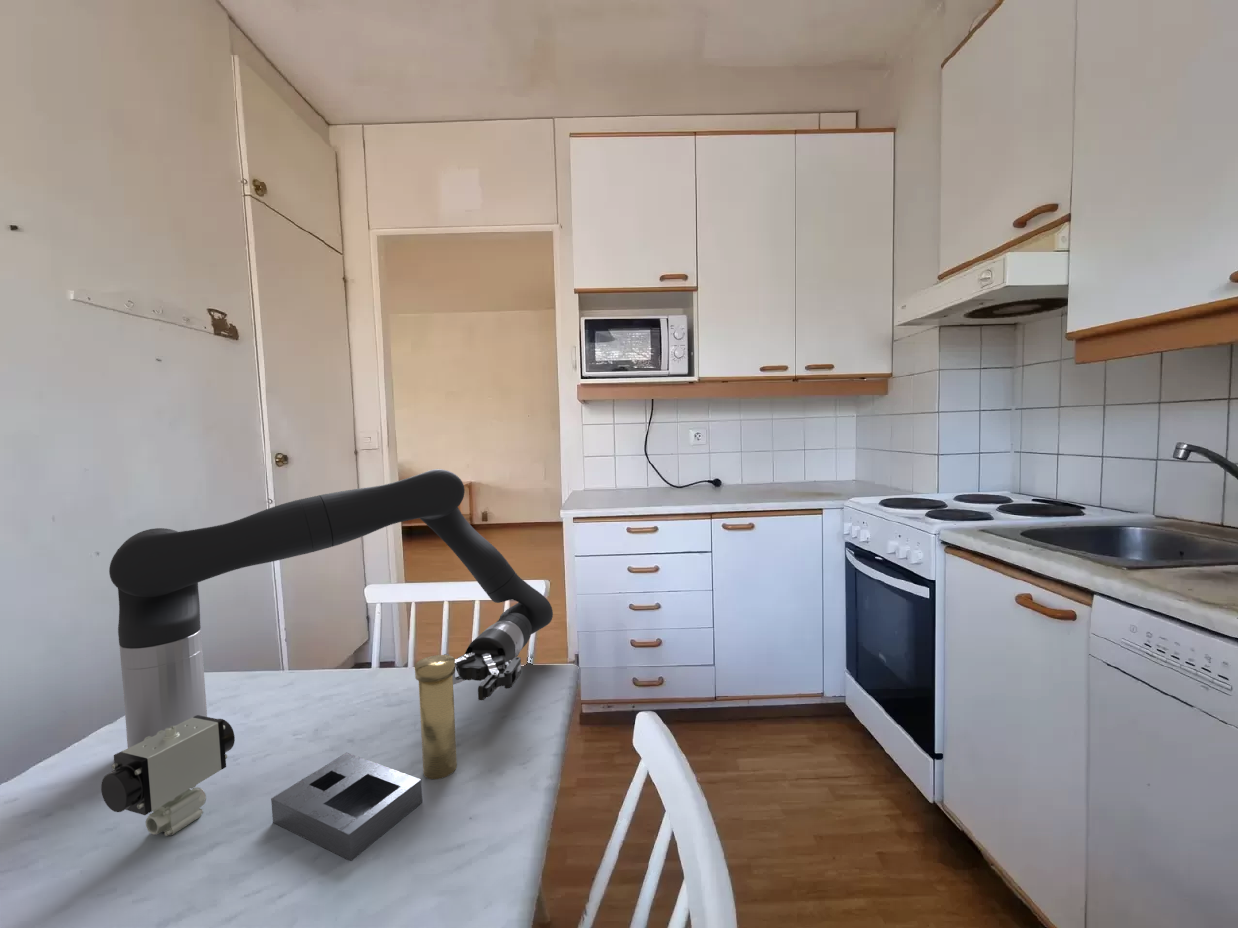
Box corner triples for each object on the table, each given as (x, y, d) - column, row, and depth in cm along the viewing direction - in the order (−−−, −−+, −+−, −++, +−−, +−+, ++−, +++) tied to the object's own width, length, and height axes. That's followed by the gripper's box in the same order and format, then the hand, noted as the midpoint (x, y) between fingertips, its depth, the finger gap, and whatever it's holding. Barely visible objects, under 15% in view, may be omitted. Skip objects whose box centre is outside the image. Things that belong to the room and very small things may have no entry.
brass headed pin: (411, 774, 72) (406, 667, 71) (440, 753, 76) (435, 652, 75) (440, 785, 69) (434, 673, 68) (467, 762, 74) (462, 658, 73)
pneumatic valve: (240, 795, 68) (233, 705, 68) (133, 865, 57) (124, 759, 57) (209, 787, 70) (203, 700, 69) (100, 854, 59) (91, 751, 58)
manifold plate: (272, 822, 63) (271, 798, 63) (348, 773, 72) (346, 752, 72) (350, 860, 57) (348, 834, 57) (422, 802, 66) (421, 779, 66)
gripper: (457, 626, 94) (406, 665, 78) (534, 628, 92) (498, 669, 76) (459, 667, 94) (409, 714, 78) (535, 671, 92) (500, 720, 76)
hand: (453, 692), depth 77 cm, fingers open, 8 cm apart
